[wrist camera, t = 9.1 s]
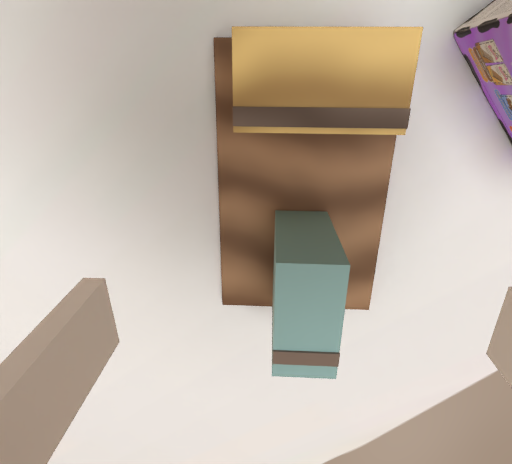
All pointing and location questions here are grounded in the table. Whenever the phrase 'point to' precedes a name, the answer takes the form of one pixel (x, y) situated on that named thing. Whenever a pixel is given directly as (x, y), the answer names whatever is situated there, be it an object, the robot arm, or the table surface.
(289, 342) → the stub
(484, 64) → the candy box
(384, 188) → the board
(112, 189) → the table surface
